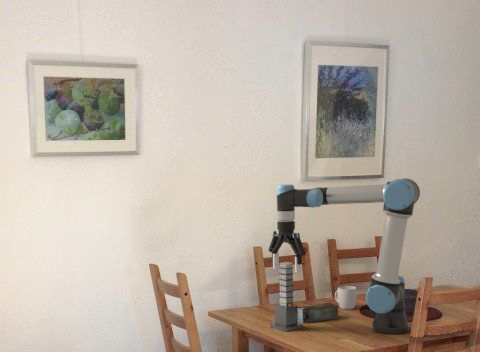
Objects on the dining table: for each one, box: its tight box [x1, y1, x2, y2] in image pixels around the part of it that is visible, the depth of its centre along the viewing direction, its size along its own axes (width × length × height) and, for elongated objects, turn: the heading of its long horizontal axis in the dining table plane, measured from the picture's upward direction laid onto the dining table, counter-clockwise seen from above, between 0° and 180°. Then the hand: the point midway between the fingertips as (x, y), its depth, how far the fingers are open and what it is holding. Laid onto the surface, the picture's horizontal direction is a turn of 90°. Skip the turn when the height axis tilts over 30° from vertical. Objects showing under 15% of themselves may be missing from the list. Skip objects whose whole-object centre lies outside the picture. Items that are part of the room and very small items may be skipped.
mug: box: [334, 285, 358, 310], centre depth 346 cm, size 13×9×10 cm
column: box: [278, 261, 294, 307], centre depth 307 cm, size 4×4×20 cm
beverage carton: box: [298, 302, 339, 324], centre depth 323 cm, size 8×19×7 cm, turn 116°
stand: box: [269, 302, 304, 332], centre depth 308 cm, size 10×10×11 cm
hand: (286, 270), depth 307 cm, fingers open, 13 cm apart
